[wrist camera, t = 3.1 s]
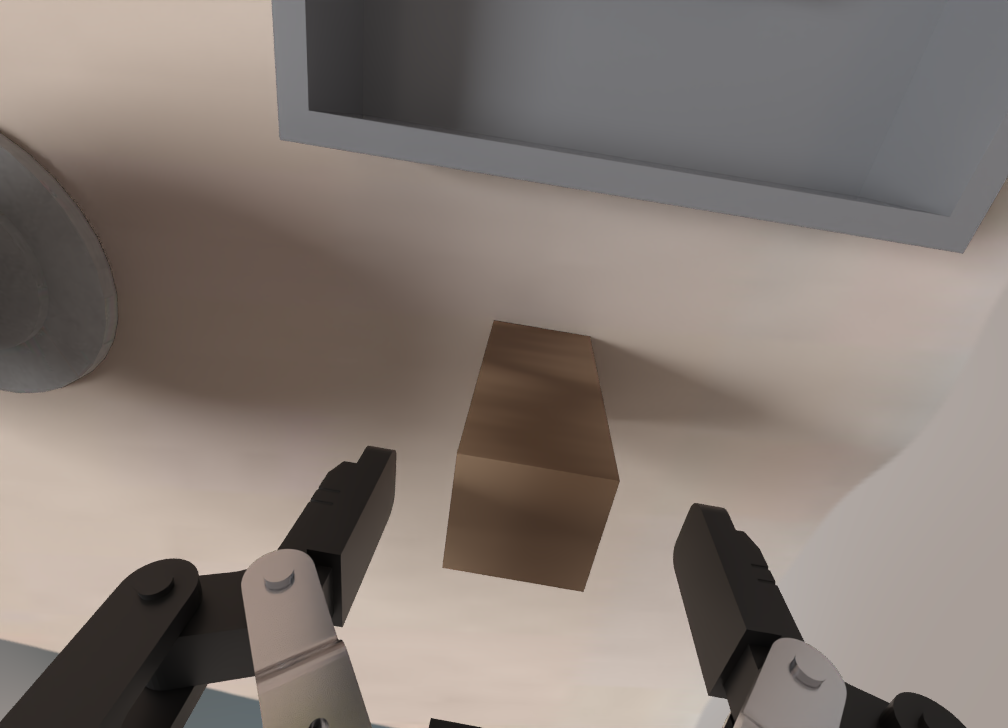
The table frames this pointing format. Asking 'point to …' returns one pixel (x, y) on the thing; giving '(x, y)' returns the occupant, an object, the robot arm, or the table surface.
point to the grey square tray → (674, 101)
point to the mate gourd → (48, 281)
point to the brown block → (533, 462)
